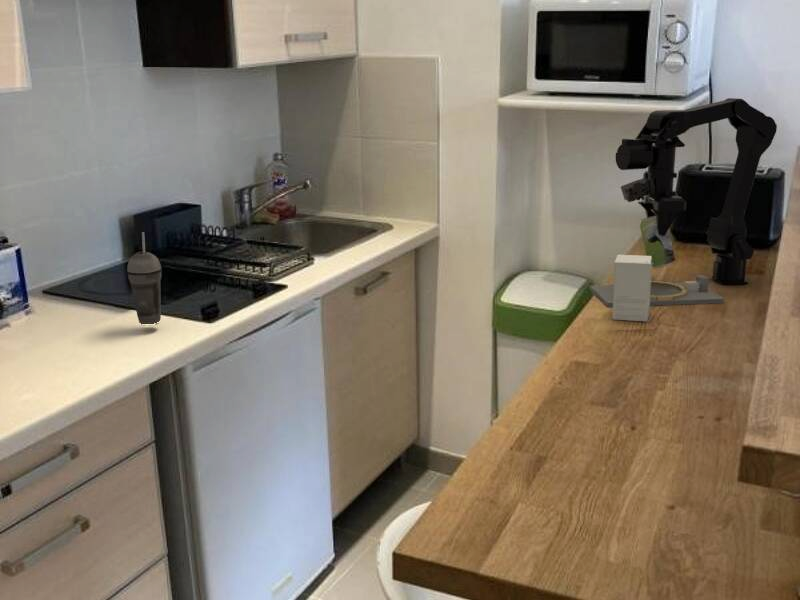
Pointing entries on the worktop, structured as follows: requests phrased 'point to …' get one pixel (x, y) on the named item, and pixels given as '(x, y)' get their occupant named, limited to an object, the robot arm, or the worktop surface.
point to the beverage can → (656, 243)
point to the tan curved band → (682, 288)
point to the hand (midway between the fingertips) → (656, 235)
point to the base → (691, 298)
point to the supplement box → (632, 287)
